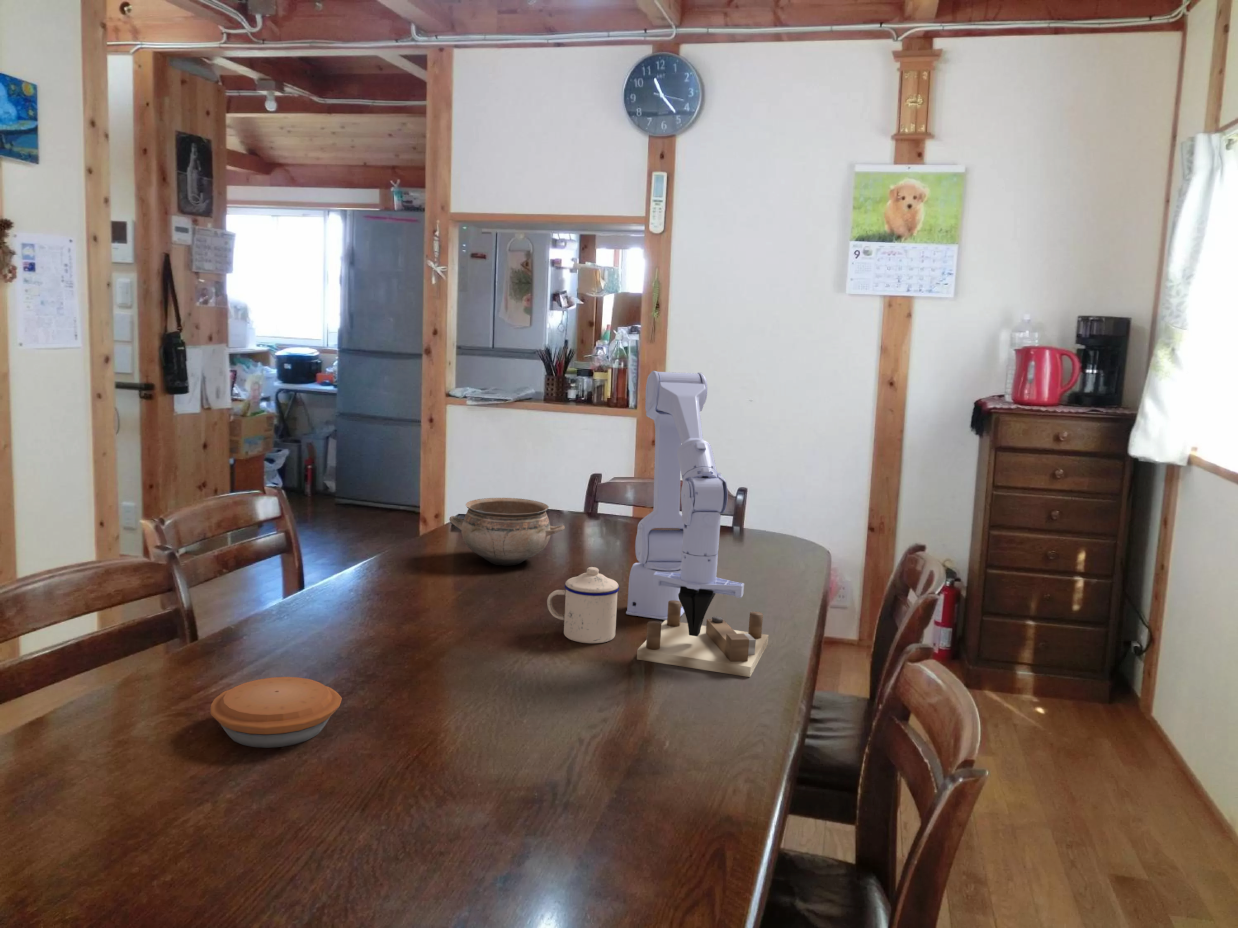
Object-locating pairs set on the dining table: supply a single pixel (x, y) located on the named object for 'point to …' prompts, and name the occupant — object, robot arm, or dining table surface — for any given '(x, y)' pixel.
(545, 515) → the cooking pot
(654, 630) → the stool seat
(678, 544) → the robot arm
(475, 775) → the dining table surface
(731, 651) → the folding leg
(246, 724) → the pie
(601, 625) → the teacup with lid
